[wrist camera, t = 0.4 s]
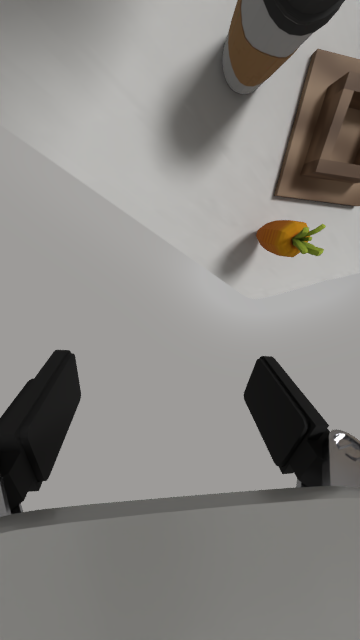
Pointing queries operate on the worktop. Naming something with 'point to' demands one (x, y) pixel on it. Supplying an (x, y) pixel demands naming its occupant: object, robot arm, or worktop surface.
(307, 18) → the coffee cup
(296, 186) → the walnut stand
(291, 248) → the carrot
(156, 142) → the worktop surface
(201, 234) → the worktop surface
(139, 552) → the robot arm
